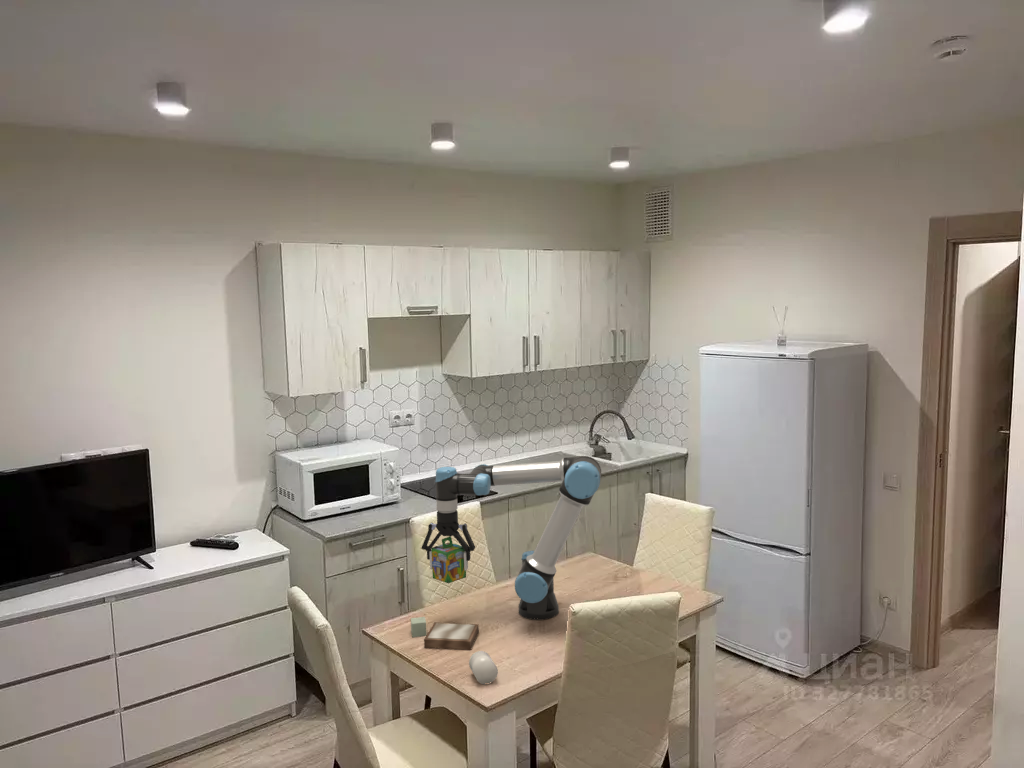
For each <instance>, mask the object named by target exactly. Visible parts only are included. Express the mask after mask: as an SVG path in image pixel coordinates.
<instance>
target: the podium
mask: <svg viewBox="0 0 1024 768" xmlns="http://www.w3.org/2000/svg"><path fill="white" fill-rule="evenodd" d="M479 631H480V629H479V624H478V623H458V622H457V623H455V622H434V623H433V624H432V626H431V627H430V629H429V631H428V632H427V633H426V634H427V635H426V636H424V639H423V647H424V649H439V650H440V649H441V650H442V649H443V650H461V651H471V650H472V649H473V646H474V644H475V641H476V639H477V638H478V635H479V634H480V632H479Z"/></svg>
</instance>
